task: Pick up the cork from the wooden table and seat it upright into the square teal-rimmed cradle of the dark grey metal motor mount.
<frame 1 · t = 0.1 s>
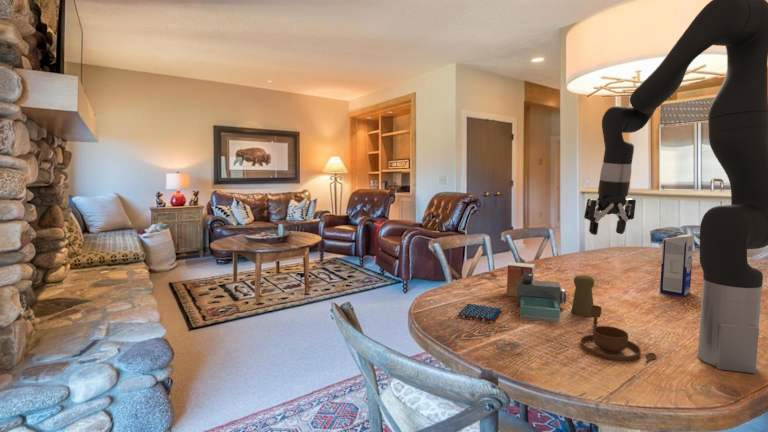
hand: (606, 233, 117), 22 cm above the table, tool pointing down, fingers open, 8 cm apart
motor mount: (538, 314, 113), on the table
woven mat: (479, 317, 114), on the table
small box: (520, 296, 132), on the table
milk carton: (674, 293, 133), on the table
cork: (582, 313, 114), on the table
place setting: (613, 347, 93), on the table
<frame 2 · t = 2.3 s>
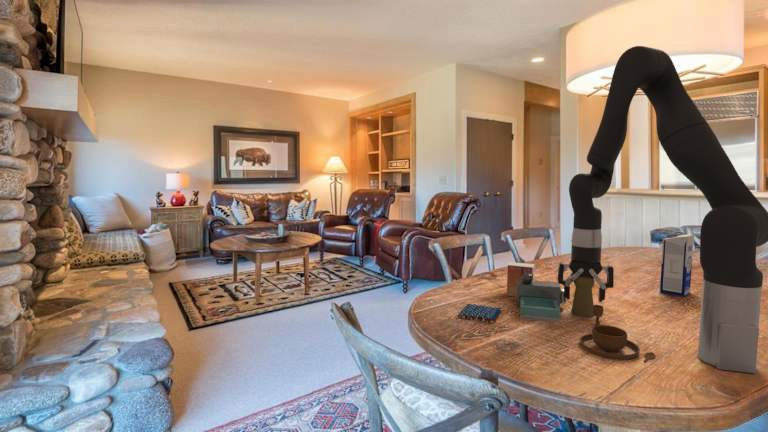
hand: (583, 299, 114), 4 cm above the table, tool pointing down, fingers open, 8 cm apart
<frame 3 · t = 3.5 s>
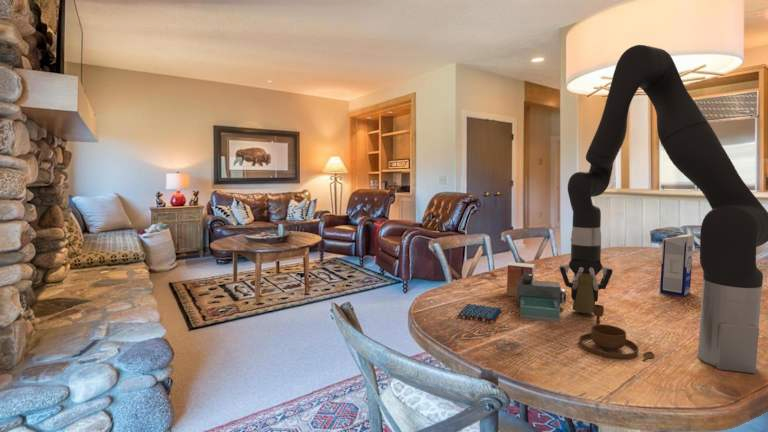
hand: (584, 301, 113), 4 cm above the table, tool pointing down, fingers closed on cork, 4 cm apart
cork: (584, 310, 114), point 1 cm above the table, touching gripper
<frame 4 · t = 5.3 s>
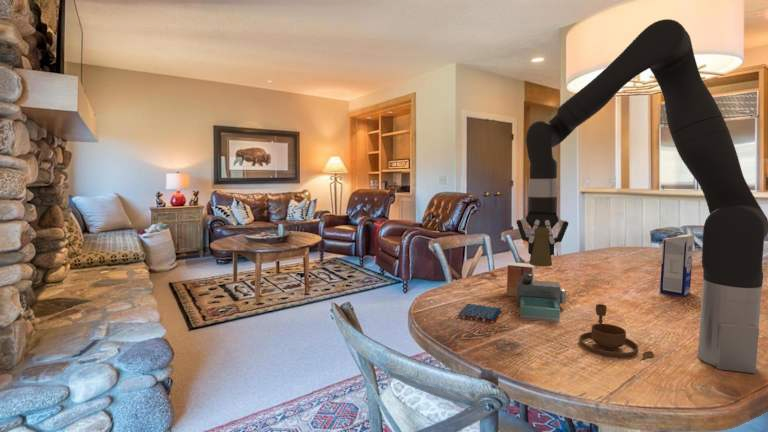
hand: (540, 255, 112), 17 cm above the table, tool pointing down, fingers closed on cork, 4 cm apart
cork: (540, 264, 112), point 15 cm above the table, touching gripper
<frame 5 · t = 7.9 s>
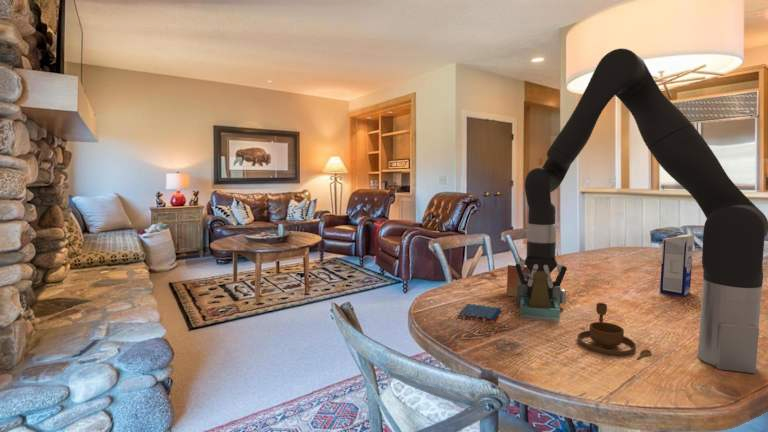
hand: (539, 299, 113), 5 cm above the table, tool pointing down, fingers closed on cork, 4 cm apart
cork: (539, 307, 113), point 2 cm above the table, touching gripper
when the fingers open (5 cm above the table, at t = 7.9 s): cork drops 1 cm, resting on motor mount.
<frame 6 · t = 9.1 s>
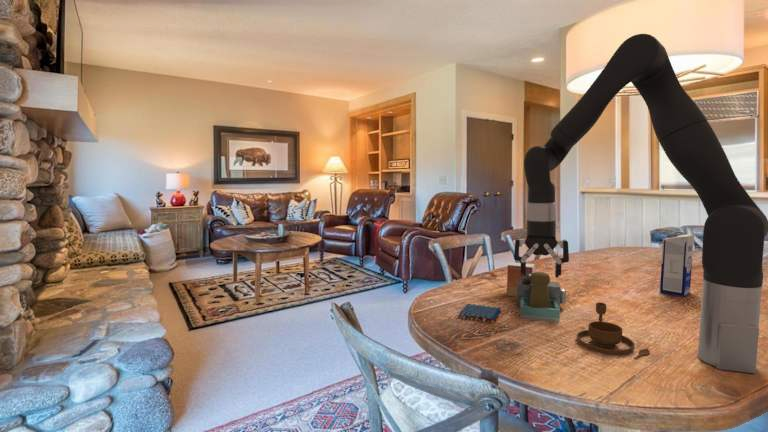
hand: (540, 276, 112), 11 cm above the table, tool pointing down, fingers open, 8 cm apart
cork: (539, 311, 113), point 1 cm above the table, touching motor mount
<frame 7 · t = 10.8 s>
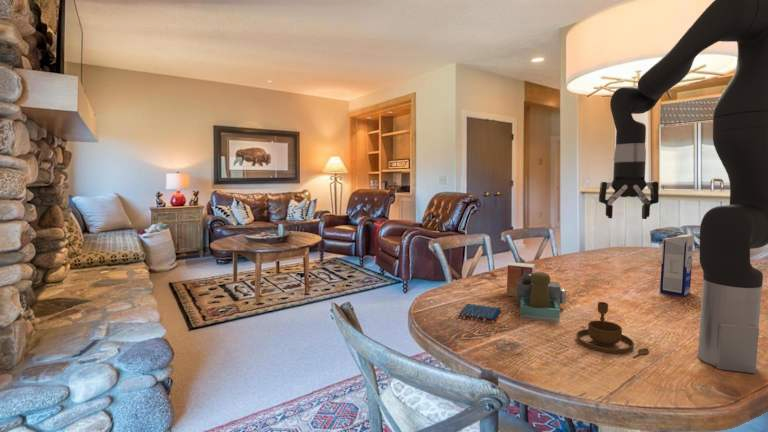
hand: (627, 218, 112), 27 cm above the table, tool pointing down, fingers open, 8 cm apart
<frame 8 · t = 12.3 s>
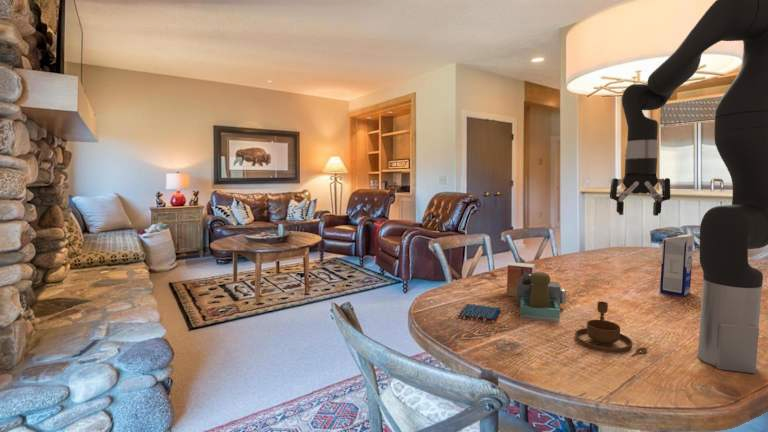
hand: (638, 215, 112), 28 cm above the table, tool pointing down, fingers open, 8 cm apart
at the end: cork 0.1 cm off-centre on the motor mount, point 1.0 cm above the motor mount's base; cork tilted 0°; the gripper is holding nothing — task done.
